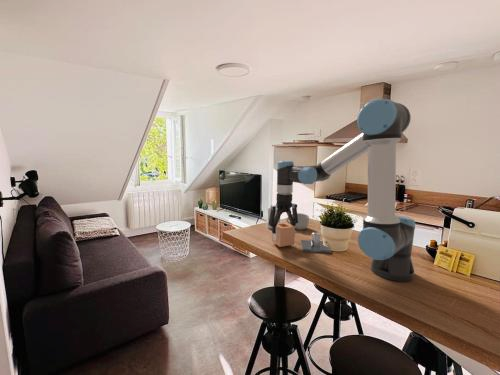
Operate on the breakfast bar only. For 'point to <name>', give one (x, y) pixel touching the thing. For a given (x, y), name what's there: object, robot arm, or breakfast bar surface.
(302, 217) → the teacup
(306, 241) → the board
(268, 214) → the supplement box
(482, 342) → the breakfast bar surface
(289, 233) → the pink square pen holder
